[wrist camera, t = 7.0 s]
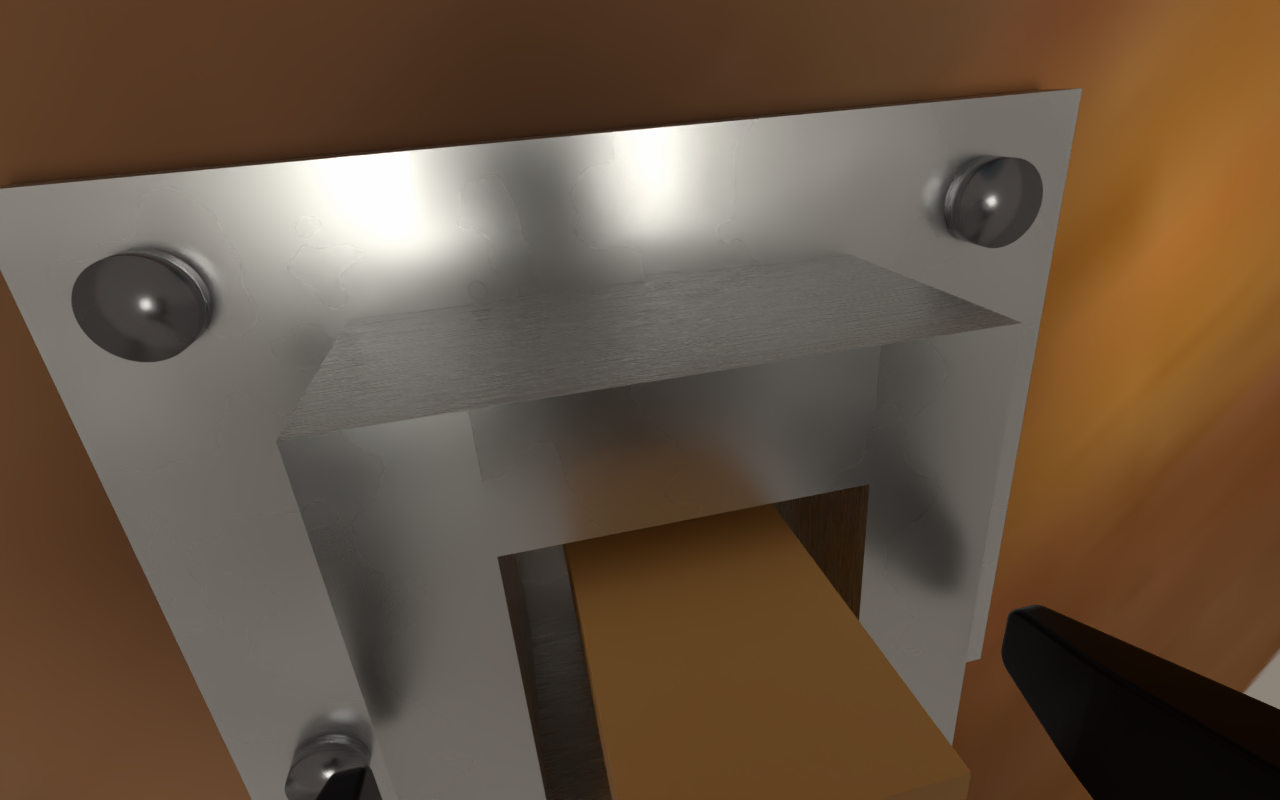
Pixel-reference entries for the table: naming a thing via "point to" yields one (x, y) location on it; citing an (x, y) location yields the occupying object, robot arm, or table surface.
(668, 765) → the wedge pin
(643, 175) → the bracket collar
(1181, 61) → the table surface
